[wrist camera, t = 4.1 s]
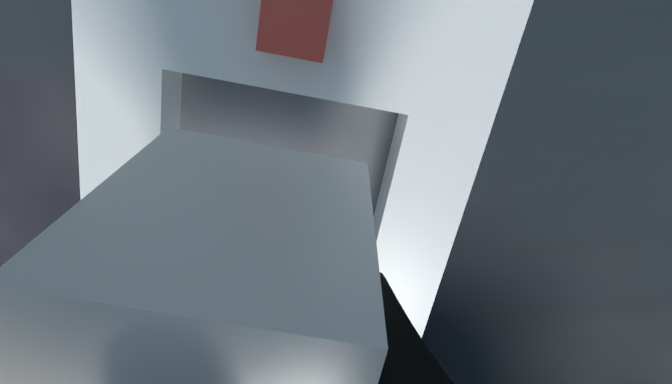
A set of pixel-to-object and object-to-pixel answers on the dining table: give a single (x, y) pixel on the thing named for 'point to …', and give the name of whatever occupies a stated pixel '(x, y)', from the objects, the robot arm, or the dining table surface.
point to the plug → (202, 273)
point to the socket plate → (311, 98)
